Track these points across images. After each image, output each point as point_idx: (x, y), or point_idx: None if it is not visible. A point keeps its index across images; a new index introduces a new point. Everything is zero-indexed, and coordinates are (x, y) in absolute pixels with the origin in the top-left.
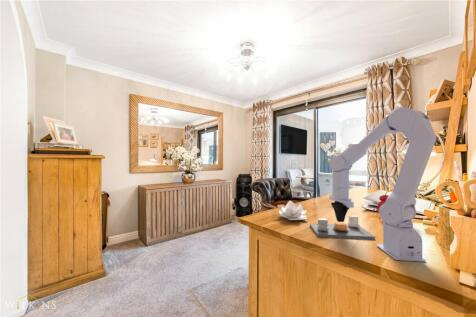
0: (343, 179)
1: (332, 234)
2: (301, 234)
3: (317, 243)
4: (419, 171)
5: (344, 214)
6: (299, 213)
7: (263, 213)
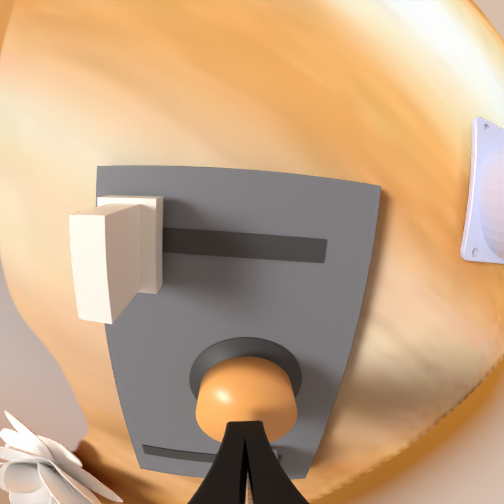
0: None
1: (316, 437)
2: None
3: (361, 468)
4: None
5: (276, 479)
6: (39, 464)
7: None
